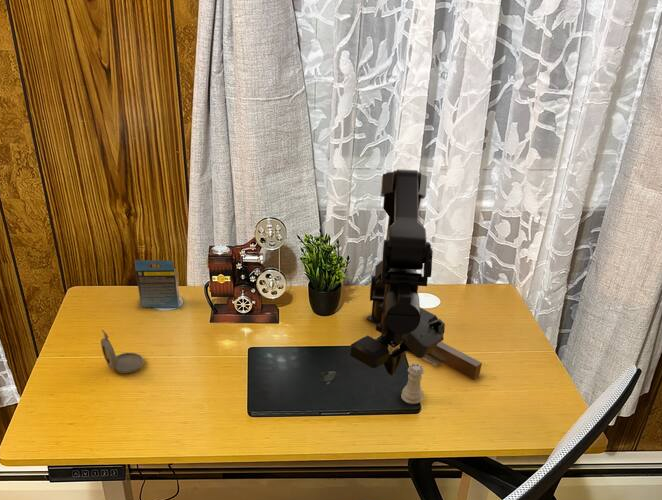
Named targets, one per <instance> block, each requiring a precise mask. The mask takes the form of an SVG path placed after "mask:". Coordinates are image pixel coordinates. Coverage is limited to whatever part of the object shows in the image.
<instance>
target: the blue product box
mask: <svg viewBox="0 0 662 500" xmlns="http://www.w3.org/2000/svg"><path fill="white" fill-rule="evenodd" d="M133 261H134V262H133V263H134V269H135V277H136V283H137V288H138V295H139V296H138V297H139V304H140V307H141V308H142V309H143V308H146V309H147V308H179V307H180V292H179V283H178V273H177V268H174V261H173V260H172V259H170V260H169V259H168V260H167V259H166V260H163V259H162V260H161V259H160V260H157V259H154V260H153V259H149V260H148V259H145V260H141V259H135V260H133ZM153 265H156V266H153Z"/></svg>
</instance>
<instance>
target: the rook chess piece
mask: <svg viewBox="0 0 662 500" xmlns="http://www.w3.org/2000/svg"><path fill="white" fill-rule="evenodd" d="M407 372H408V375H407V379H408V380H407V383H406V385H405V386H404V387H403V388H402V390H401V394H400V397H401V400H402V401H403V402H404V403H407V404H409V405H417V404H419V403H421V402H422V401H423V399H424V391H423V389H422V387H421V382H422V381H421V380H422V379H423V376H422V375H423V374H424V373H425V370H424V367H423V365H422V364H420V363H419V362H417V363H415V362H413V363H411V364H410V365H409V367H408V368H407Z"/></svg>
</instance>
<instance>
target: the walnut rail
mask: <svg viewBox="0 0 662 500" xmlns="http://www.w3.org/2000/svg"><path fill="white" fill-rule="evenodd" d="M427 356H429V357H431V358H433V359H435V360H437V361H438V362H440V364H443V365H445V366H447V367H449V368H451V369H452V370H454V371H456V372H458V373H459V374H462V375H464V376H466V377H467V378H469V379H471V380H476V379H477V378H479V377H480V373H481V370H482V366H483V365H482V364H483V362H481V361H479V360H478V359H476V358H474V357H471V356H470V355H468V354H466V353H463V352H462V351H460V350H458V349H456V348H454V347H453V346H451V345H448V344H447V343H445V342H443V341H441V342H439V343H438V344H437V346H436V348H435V349H434V351H432V352H430V353H429V354H427Z"/></svg>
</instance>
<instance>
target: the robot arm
mask: <svg viewBox="0 0 662 500" xmlns="http://www.w3.org/2000/svg"><path fill="white" fill-rule="evenodd" d="M427 184H428V176H427V175H425V174H422V172H421V171H418V169H405V168H404V169H402V168H400V169H399V168H397V169H396V170H393V171H388V172H386V173H383V174H382V176H381V184H380V197H382V198H383V202H382V203H383V205H382V206H383V210H384V212H385V213H386V215H387V216H388V222H387V228H386V238H385V239H383V245H382V256H381V257H382V258H381V259H382V260H381V261H379V262H378V263H376V265H375V270H374V274H372V275H371V278H370V286H369V302H372V305H371V314H370V315H368V316H367V317H366V320H367V321H369V322H371V323H372V324H374V325H375V331H377V332H379V333H380V335H378V336H377V337H375V338H373V337H372V336H370V335H368V334H367V335H365V336H363V337H361V338H360V339H358V340H356V341H355V342H353V343H351V344H350V349H349V350H350V352H349V355H350V357H352V358H353V359H355V360H357V361H358V362H361V363H362V364H364V365H366V366H367V367H369V368H371V369H377V368H378V367H379V368H380V367H381V366H382V365H384V368H385V370H386V372H387V374H388V375H390V376H393V375H395V374H396V372H397V370H398V368H399V366H400V364H401V363H402V361H403V359H404V356H405V355H406V353H407V352H408V351H407V350H409V349H410V350H411V351H412V352H413V353H414V356H415V357H416V358H418V359H422V358H423V357H424V356H426V355H427V354H429V353H430V352H432V351H434V349H435V348H436V346H437V344H438V343H439V342H443V341H444V338H445V337H444V334H445V328H446V324H445V322H443V320H442V319H440V318H438V316H437V315H436V314H433V312H430V311H427V309H424V308H422V307H421V306H420V296H419V293H418V291H419V287H428V279H429V278H431V277H432V273H433V272H432V271H433V254H434V253H433V252H434V250H433V248H432V244H431V241H427V229H426V227H424V226H423V225H422V224H421V223H420V221H419V210H420V206H421V200H424V199H425V198H426V197H427V196H426V195H427V186H428V185H427ZM416 270H417V271H420V270H423V273H418V272H417V271H416ZM427 356H428V355H427Z"/></svg>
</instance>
